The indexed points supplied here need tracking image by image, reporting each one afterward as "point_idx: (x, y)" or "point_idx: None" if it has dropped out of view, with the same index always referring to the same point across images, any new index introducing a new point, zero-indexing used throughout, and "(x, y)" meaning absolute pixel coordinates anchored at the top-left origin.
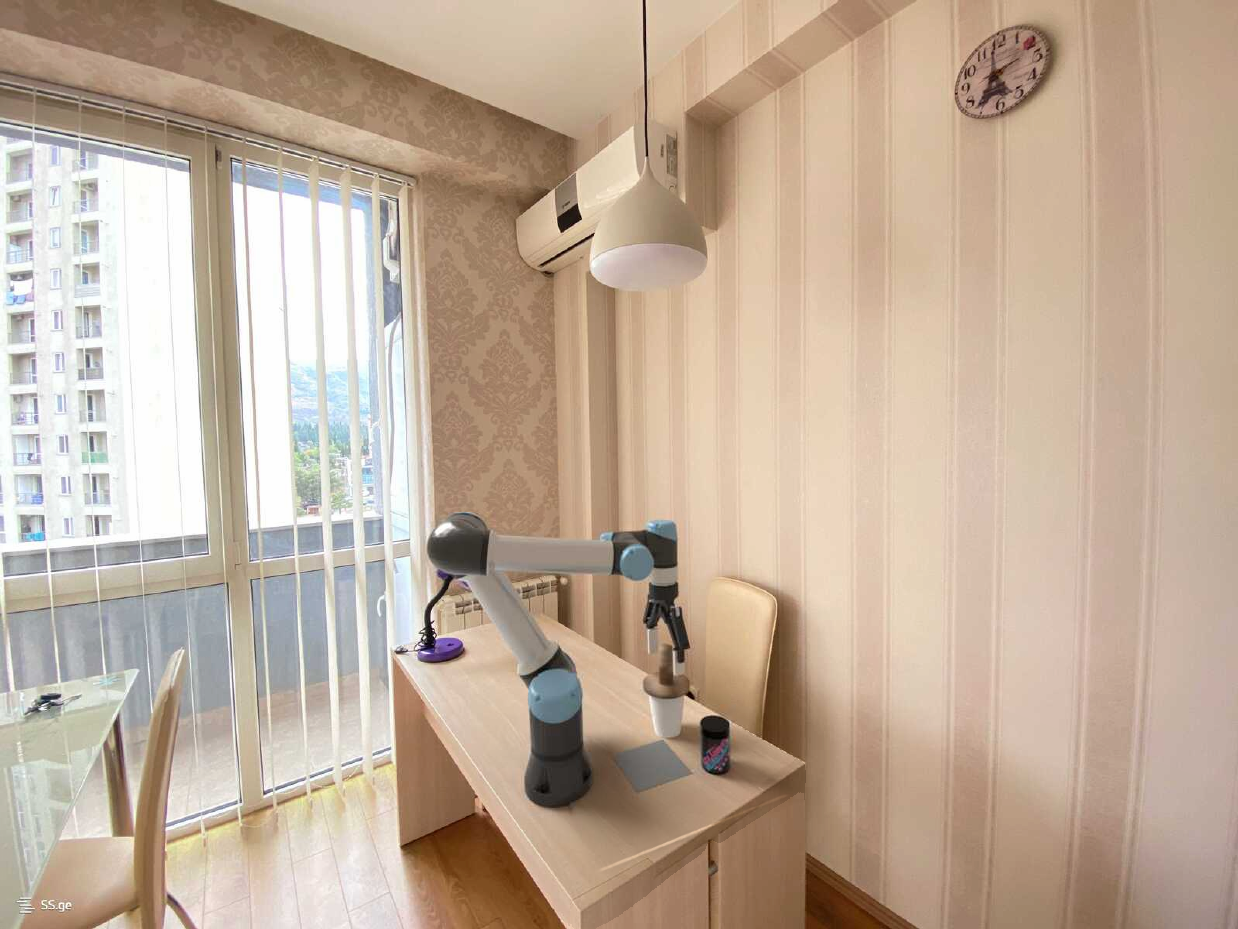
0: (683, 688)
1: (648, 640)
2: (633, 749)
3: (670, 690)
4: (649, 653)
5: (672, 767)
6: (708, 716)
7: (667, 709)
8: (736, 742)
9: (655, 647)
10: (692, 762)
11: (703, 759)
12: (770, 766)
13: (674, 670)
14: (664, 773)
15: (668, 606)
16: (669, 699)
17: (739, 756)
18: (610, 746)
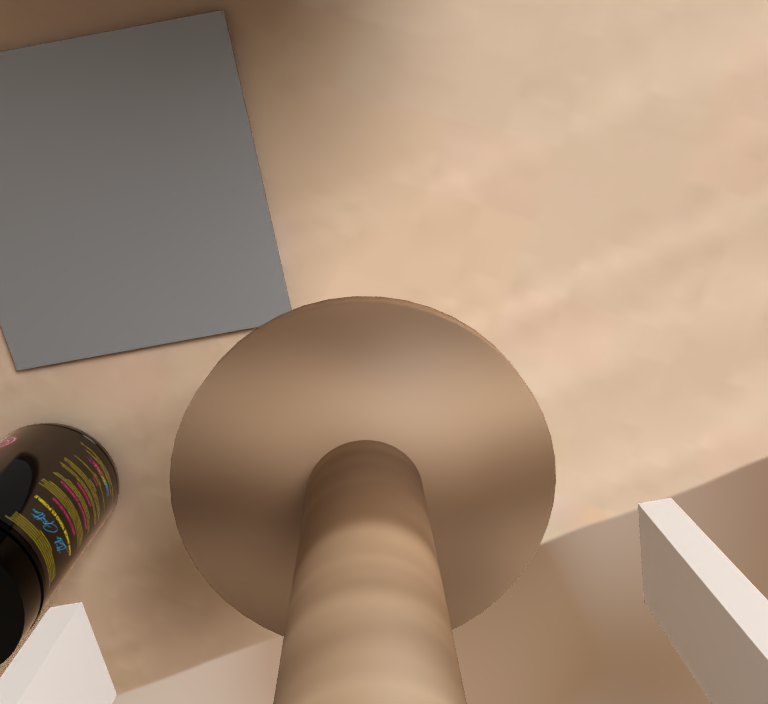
0: (232, 580)
1: (748, 612)
2: (247, 148)
3: (225, 485)
4: (642, 509)
5: (68, 296)
6: (15, 601)
7: None
8: (207, 609)
9: (671, 616)
10: (108, 396)
11: (9, 443)
12: None
13: (31, 647)
14: (31, 246)
15: None
16: None
17: (114, 585)
18: (320, 30)
